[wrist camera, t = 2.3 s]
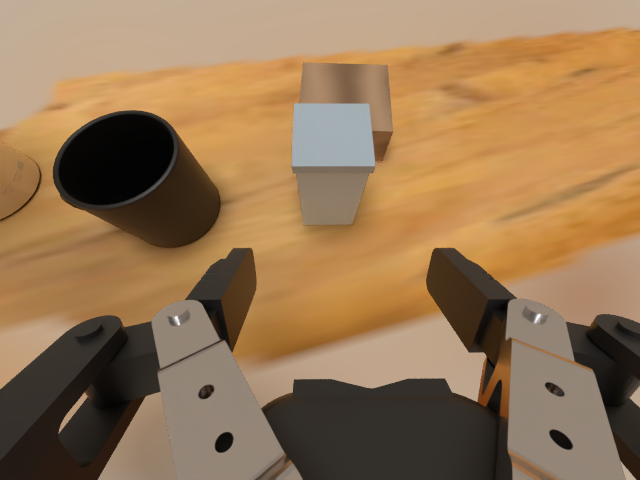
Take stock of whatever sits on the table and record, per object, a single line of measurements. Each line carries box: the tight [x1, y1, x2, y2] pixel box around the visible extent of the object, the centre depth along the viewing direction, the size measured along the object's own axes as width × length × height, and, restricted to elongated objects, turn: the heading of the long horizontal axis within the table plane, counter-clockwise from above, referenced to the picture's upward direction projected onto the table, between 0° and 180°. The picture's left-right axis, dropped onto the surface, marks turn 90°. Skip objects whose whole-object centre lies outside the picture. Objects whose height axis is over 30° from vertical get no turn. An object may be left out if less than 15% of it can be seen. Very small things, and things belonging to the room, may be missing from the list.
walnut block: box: [300, 63, 393, 161], centre depth 29 cm, size 10×10×5 cm
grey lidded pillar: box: [292, 103, 375, 225], centre depth 23 cm, size 6×6×11 cm
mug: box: [53, 110, 220, 247], centre depth 23 cm, size 9×12×9 cm
